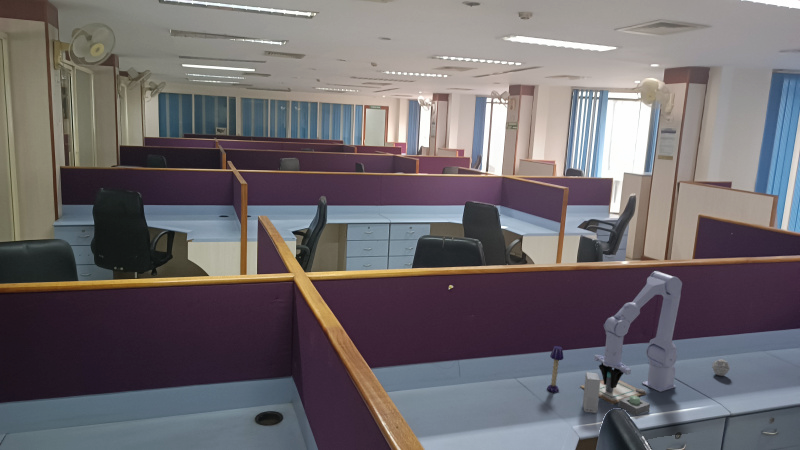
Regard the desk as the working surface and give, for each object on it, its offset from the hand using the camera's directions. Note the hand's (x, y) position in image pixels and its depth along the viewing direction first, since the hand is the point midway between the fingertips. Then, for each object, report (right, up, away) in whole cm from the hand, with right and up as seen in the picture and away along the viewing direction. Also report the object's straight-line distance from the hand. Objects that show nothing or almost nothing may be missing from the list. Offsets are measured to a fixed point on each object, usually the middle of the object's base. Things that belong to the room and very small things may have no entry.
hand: (609, 385), depth 208 cm
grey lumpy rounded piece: (+51, -2, +20) cm, 55 cm away
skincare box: (-11, -5, -12) cm, 17 cm away
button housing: (+4, -5, -11) cm, 12 cm away
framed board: (+2, -3, +3) cm, 4 cm away
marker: (0, -2, 0) cm, 2 cm away
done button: (+4, -5, -11) cm, 12 cm away
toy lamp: (-20, -2, +2) cm, 20 cm away
